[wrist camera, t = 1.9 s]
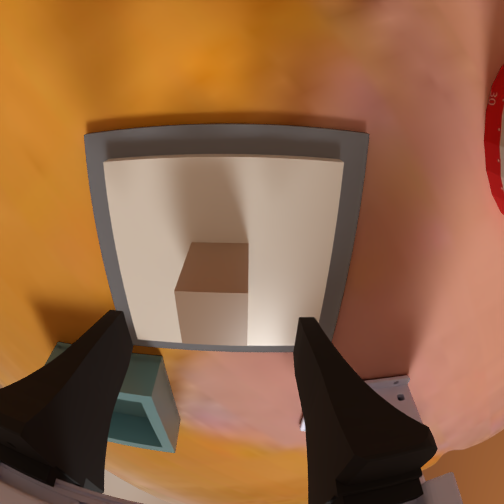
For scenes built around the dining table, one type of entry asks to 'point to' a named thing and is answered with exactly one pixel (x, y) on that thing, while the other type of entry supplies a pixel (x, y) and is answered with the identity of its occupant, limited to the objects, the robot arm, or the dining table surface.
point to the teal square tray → (142, 405)
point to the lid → (223, 243)
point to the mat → (233, 142)
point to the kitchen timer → (495, 140)
